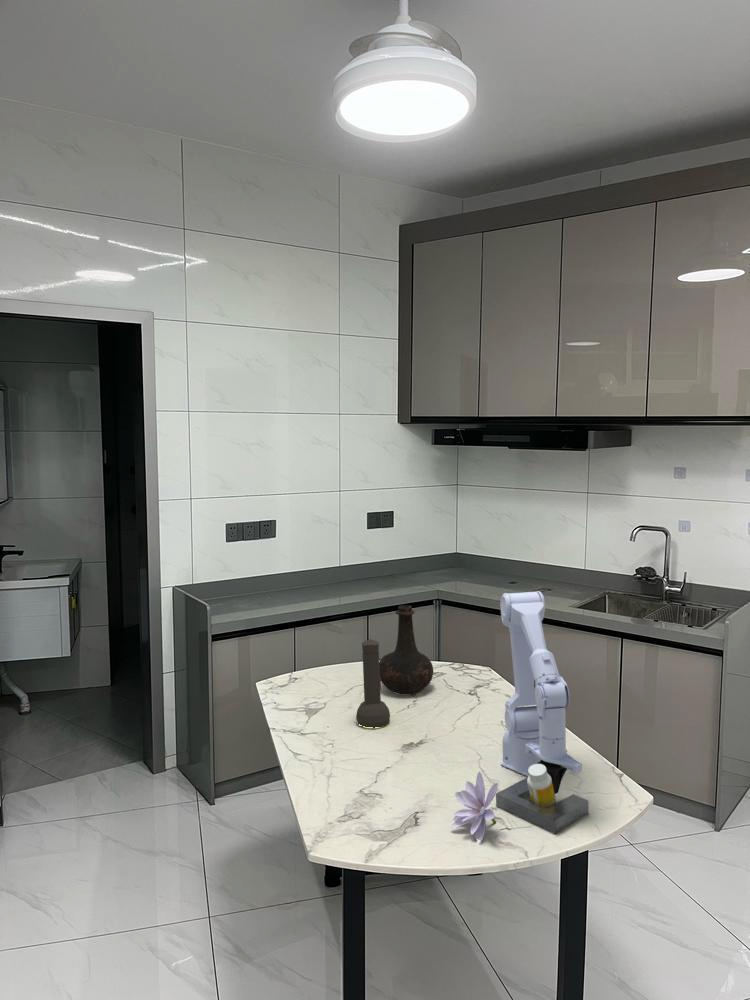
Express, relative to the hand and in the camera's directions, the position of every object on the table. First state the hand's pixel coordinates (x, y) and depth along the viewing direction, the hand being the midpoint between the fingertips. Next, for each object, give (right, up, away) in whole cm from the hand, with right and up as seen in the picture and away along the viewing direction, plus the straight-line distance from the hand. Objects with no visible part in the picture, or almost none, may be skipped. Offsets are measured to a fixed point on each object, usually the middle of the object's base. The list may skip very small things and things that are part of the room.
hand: (553, 792), depth 169 cm
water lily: (-19, -4, -8) cm, 21 cm away
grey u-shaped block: (-3, -3, -2) cm, 5 cm away
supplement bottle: (-2, -2, -2) cm, 4 cm away
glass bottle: (-30, +4, +76) cm, 81 cm away
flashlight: (-41, +1, +50) cm, 64 cm away
